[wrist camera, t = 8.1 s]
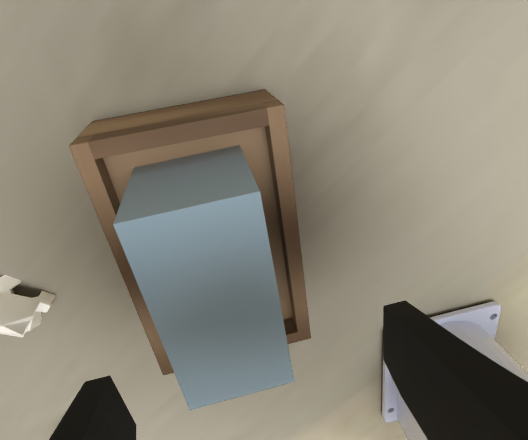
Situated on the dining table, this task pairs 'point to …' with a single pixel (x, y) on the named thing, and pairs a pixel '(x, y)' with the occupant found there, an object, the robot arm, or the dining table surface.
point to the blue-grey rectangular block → (207, 273)
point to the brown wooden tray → (190, 143)
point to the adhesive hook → (20, 308)
